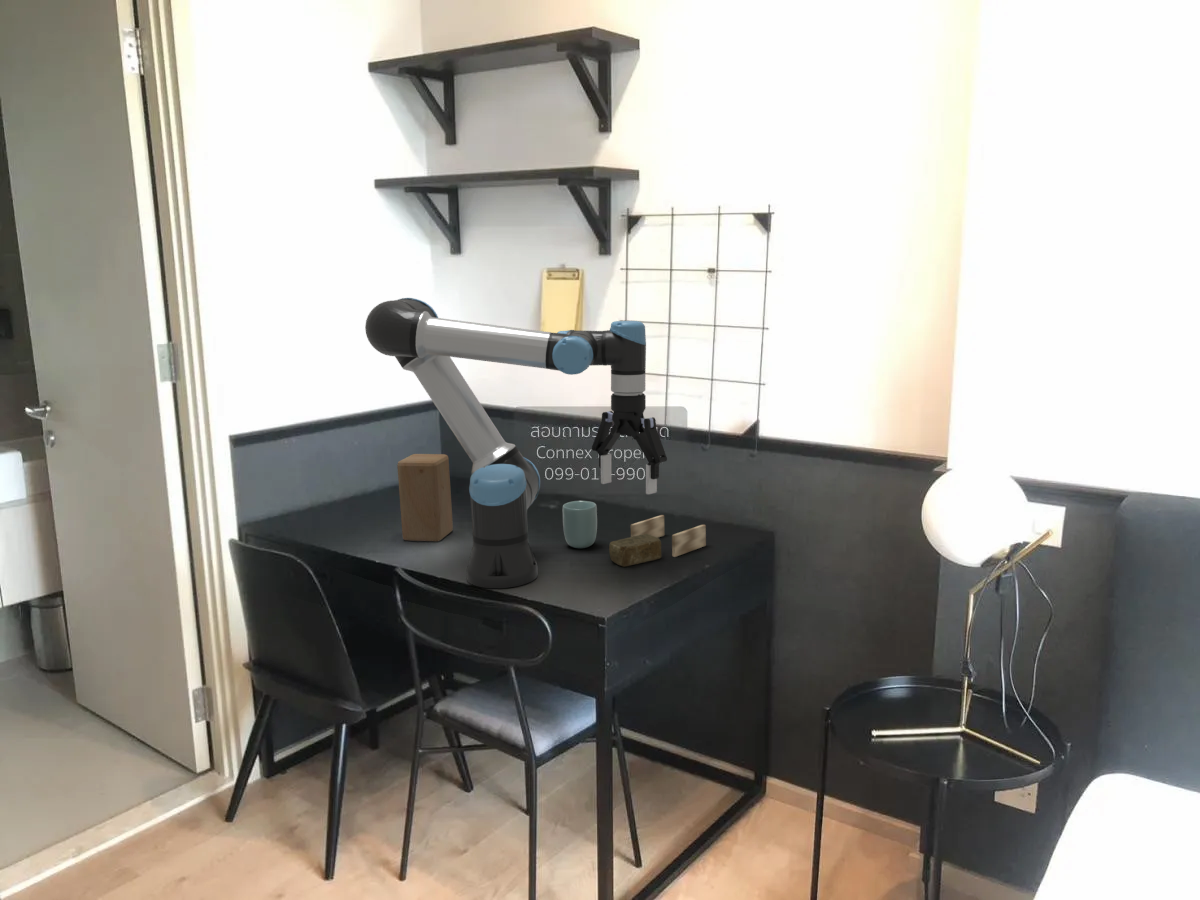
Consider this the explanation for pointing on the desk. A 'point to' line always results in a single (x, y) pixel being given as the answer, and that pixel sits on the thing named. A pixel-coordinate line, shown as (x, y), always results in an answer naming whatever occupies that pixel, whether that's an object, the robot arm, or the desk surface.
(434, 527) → the wooden block
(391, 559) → the desk surface
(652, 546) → the stone block
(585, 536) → the cup
